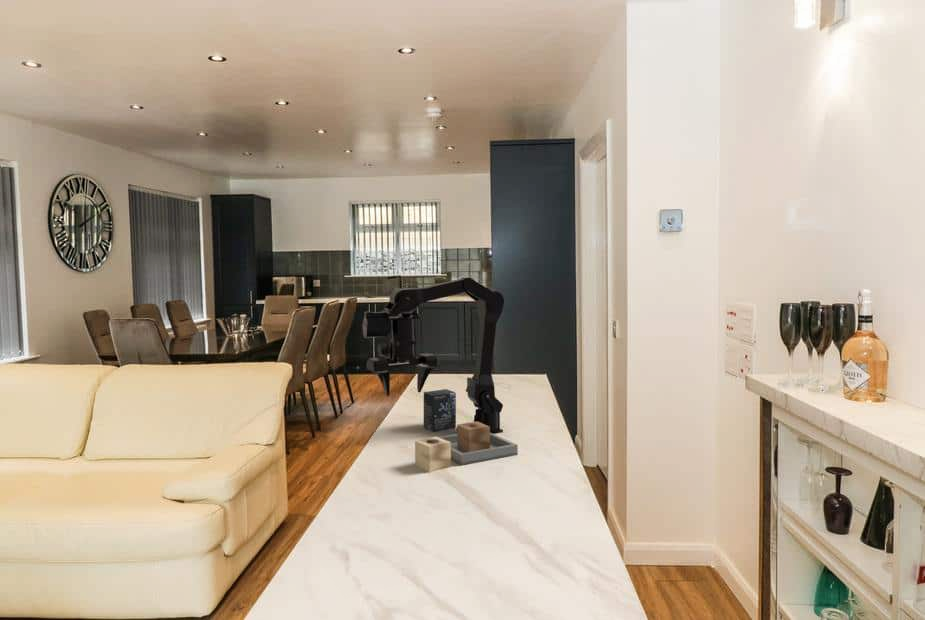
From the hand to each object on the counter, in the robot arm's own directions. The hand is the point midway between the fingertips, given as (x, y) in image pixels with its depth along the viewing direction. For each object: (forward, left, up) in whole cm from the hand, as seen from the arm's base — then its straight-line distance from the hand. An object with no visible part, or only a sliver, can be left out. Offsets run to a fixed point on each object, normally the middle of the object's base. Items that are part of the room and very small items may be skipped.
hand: (403, 394), depth 169 cm
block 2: (-11, +18, -12) cm, 24 cm away
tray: (-11, +18, -12) cm, 25 cm away
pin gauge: (-8, +7, -12) cm, 16 cm away
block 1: (+3, +23, -13) cm, 26 cm away
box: (-14, -6, -13) cm, 20 cm away
